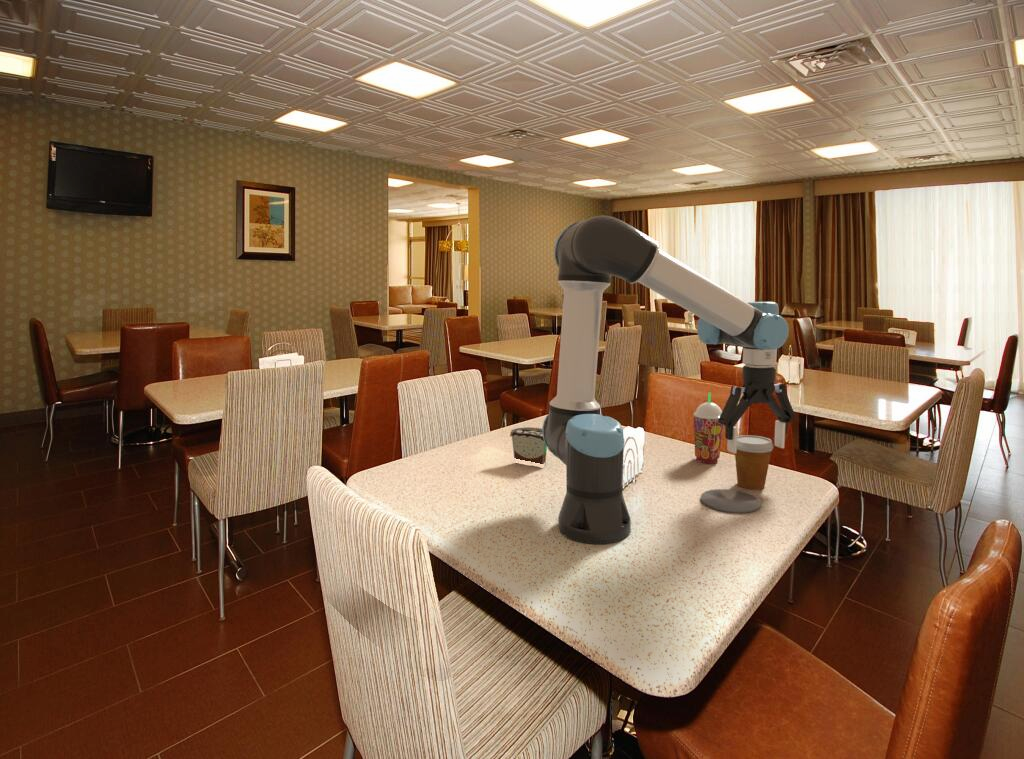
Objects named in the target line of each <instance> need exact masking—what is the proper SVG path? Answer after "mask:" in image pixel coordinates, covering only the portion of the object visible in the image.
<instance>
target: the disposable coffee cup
mask: <svg viewBox="0 0 1024 759" xmlns="http://www.w3.org/2000/svg"><path fill="white" fill-rule="evenodd" d="M774 448H775V447H774V443H773V440H772V439H771V438H768V437H765V436H762V435H761V436H760V435H759V436H758V435H750V434H749V435H748V434H746V435H744V434H743V435H742V434H741V435H737V453H734V457H735V467H736V470H735V471H736V480H737V486H739V487H740V488H743V489H748V490H752V491H753V490H755V491H756V490H762V489H764V488H765V485H766V482H767V477H768V470H769V467H770V466H769V465H770V460H771V456H772V451H773V449H774Z"/></svg>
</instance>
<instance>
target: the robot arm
mask: <svg viewBox="0 0 1024 759" xmlns="http://www.w3.org/2000/svg"><path fill="white" fill-rule="evenodd" d="M659 247H660V246H659V243H658V241H657V240H655V239H654V238H652V237H650V236H649V235H647V234H645V233H644V232H642V231H640V230H639V229H637V228H635V227H634V226H632V225H631V224H629V223H626V222H625V221H624V220H621V219H619V218H616V217H615V216H609V215H605V214H604V215H597V216H596V215H595V216H591V217H590V218H588V219H587V218H586V219H585V220H580V221H577V222H576V221H575V222H573V223H572V224H570V225H568V226H567V227H566V228H565V229H564V230H562V232H560V234H559V235H558V236H557V238H556V241H555V243H554V247H553V248H554V249H553V256H554V261H555V263H556V266H557V267H558V272H557V273H558V274H557V275H558V276H557V283H558V285H560V287H561V288H562V290H563V300H562V314H561V330H560V343H559V344H560V346H559V357H558V358H559V359H558V371H557V372H558V373H557V374H558V375H557V387H556V388H557V389H556V395H555V396H554V397H553V398H552V399H551V400H550V401H549V410H548V414H547V415H546V416H545V418H544V420H543V423H542V428H541V429H542V435H543V439H544V442H545V444H546V446H547V450H548V451H549V452H550V453H551V454H552V456H554V457H556V458H558V459H559V460H560V461H561V463H563V464H564V465H565V467H566V474H565V476H566V488H565V489H566V490H565V491H566V493H565V496H564V500H563V502H562V504H561V508H560V511H559V514H558V518H557V521H558V522H557V523H558V524H557V525H558V527H557V528H559V529H558V531H559V530H560V531H559V532H560V533H561V534H562V536H564V535H565V536H564V537H566V538H568V539H571V540H573V541H575V542H580V543H585V544H595V545H596V544H599V545H600V544H610V543H616V542H619V541H621V540H624V539H625V538H627V537H628V536H629V535H630V534H631V531H632V530H631V529H632V528H631V527H632V526H631V525H632V520H631V516H630V513H629V510H628V507H627V503H626V502H625V498H624V494H623V490H624V489H623V487H624V486H623V482H624V449H625V448H624V447H625V438H624V429H623V428H624V427H623V426H622V424H621V423H620V422H619V421H618V420H616V419H614V418H613V417H611V416H607V415H605V416H604V415H602V414H601V405H600V403H598V402H597V400H596V399H595V398H596V397H595V395H596V394H595V393H596V383H597V370H598V357H599V347H600V346H599V344H600V331H601V321H602V320H601V319H602V307H603V295H604V294H603V293H604V292H605V290H607V289H608V288H609V287H610V286H611V280H612V276H613V277H615V278H619V279H622V280H624V281H625V282H626V283H629V284H630V285H631V284H636V283H639V284H641V285H642V286H644V287H646V288H648V289H649V290H651V291H653V292H655V293H657V294H658V295H660V296H661V297H663V298H665V299H666V300H668V301H670V302H673V304H675V305H677V306H679V307H681V308H683V309H684V310H686V311H688V312H689V313H691V314H693V315H695V316H697V317H698V318H699V319H698V321H697V326H696V327H697V328H696V330H697V331H696V332H697V336H698V338H699V340H700V342H701V343H703V344H705V345H715V346H716V345H721V344H722V345H723V344H724V345H731V346H737V347H742V348H743V351H742V363H743V367H742V374H741V376H742V377H741V378H742V383H743V385H742V386H736V385H732V386H731V388H730V392H729V393H730V395H729V397H728V399H727V401H726V403H725V405H724V407H723V409H722V413H721V415H720V417H719V420H718V423H720V424H723V426H725V427H724V428H725V431H724V437H725V440H727V445H726V446H727V447H726V450H727V452H730V453H732V454H735V453H737V436H738V427H737V426H736V425H737V423H738V422H739V421H740V419H741V417H743V415H744V414H745V412H747V410H748V408H750V407H751V406H752V405H756V404H757V405H758V404H760V403H762V404H766V405H767V406H768V407H769V409H770V410H771V412H773V414H774V415H775V417H777V419H778V420H775V422H774V442H773V445H774V446H775V447H777V448H779V449H785V441H786V435H787V433H788V424H790V423H791V422H792V420H795V419H796V414H795V411H794V409H793V407H792V404H791V402H790V399H789V397H788V394H787V389H786V388H787V386H786V384H785V383H781V382H776V378H777V377H776V376H777V367H776V366H775V365H776V364H777V356H778V353H777V352H778V349H780V348H781V347H782V346H783V345H784V344H785V343H786V342H787V339H788V337H789V333H790V332H789V330H790V328H789V325H788V322H787V321H786V319H785V318H784V317H783V316H782V315H779V314H780V311H779V310H780V309H779V304H778V303H777V302H775V301H751V302H749V301H748V302H747V301H745V300H743V299H741V298H740V297H738V296H736V295H735V294H733V293H731V292H730V291H728V290H727V289H725V288H724V287H721V285H718V284H717V283H715V282H714V281H712V280H711V279H708V278H707V277H705V276H704V275H702V274H700V273H699V272H697V271H696V270H694V269H692V268H690V267H689V266H687V265H686V264H684V263H682V262H681V261H679V260H678V259H676V258H674V257H673V256H671V255H670V254H668V253H666V252H664V251H663V250H661V249H660V248H659ZM774 392H775V395H776V398H777V399H776V398H775V396H774V395H773V393H774ZM777 401H778V402H777Z"/></svg>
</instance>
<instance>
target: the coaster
mask: <svg viewBox="0 0 1024 759" xmlns="http://www.w3.org/2000/svg"><path fill="white" fill-rule="evenodd" d="M700 499H701V500H700V501H701V502H702V504H703V505H705V506H706V507H708V508H710V509H713V510H716V511H718V512H724V513H730V514H731V513H732V514H750V513H753V512H756V511H758V510H760V508H761V500H760V499H759V498H758V497H757V496H755V495H753V494H751V493H747V492H744V491H740V490H735V489H727V488H726V489H725V488H718V489H717V488H716V489H709V490H706V491H704V492H702V493H701V495H700Z"/></svg>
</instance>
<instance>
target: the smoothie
mask: <svg viewBox="0 0 1024 759" xmlns="http://www.w3.org/2000/svg"><path fill="white" fill-rule="evenodd" d="M711 396H712V393H711V392H708V395H707V397H708V398H707V402H703V403H701V404H699V405H698V406H697V408H696V409H695V411H694V412H693V429H694V430H693V432H694V456H695V457H696V460H697V461H698V462H700V463H704V464H715V463H716V462H718V460H719V459H720V456H721V455H720V454H721V446H722V438H723V437H722V436H723V430H724V429H723V428H724V425H723V424H720V423H718V420H719V417H720V415H721V413H722V411H723V409H721V407H720V406H719V405H718V404H716V403H715V402H711V401H712V400H711V398H712V397H711Z"/></svg>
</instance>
